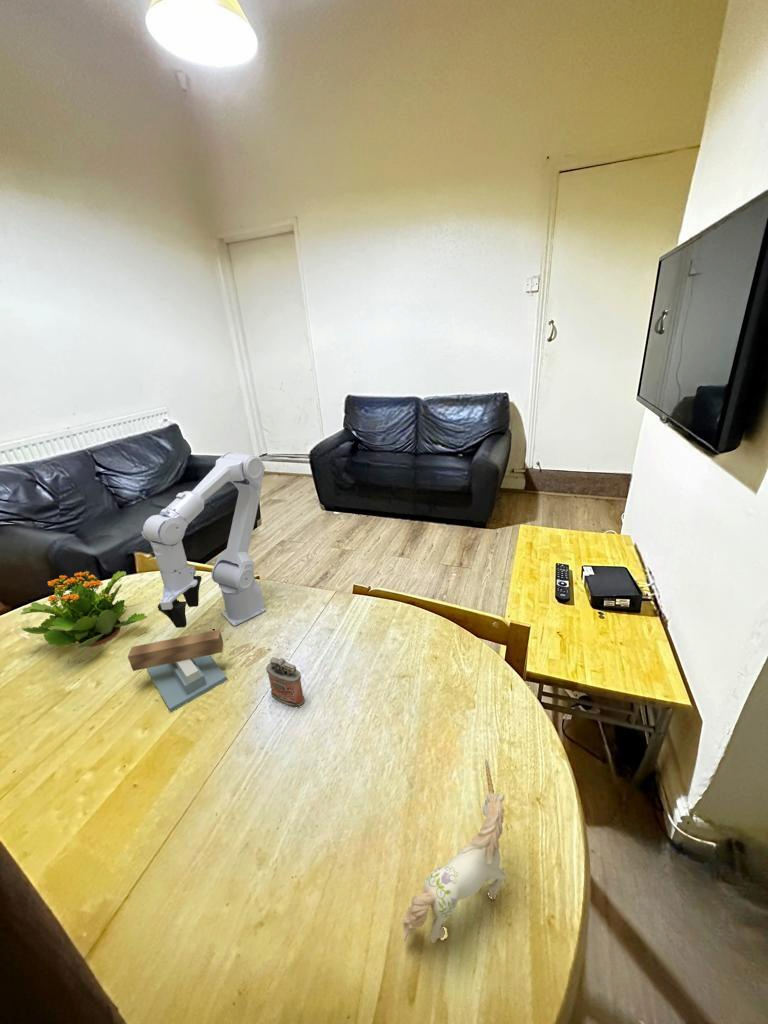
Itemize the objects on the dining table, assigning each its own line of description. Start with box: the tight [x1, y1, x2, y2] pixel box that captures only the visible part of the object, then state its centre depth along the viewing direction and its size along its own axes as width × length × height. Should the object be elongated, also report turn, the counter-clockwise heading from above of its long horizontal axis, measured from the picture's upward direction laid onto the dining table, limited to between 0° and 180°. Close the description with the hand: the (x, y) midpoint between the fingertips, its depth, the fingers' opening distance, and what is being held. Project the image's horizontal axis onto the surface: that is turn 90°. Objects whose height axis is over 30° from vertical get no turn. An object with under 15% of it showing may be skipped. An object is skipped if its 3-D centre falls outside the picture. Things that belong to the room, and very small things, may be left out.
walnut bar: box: [127, 629, 224, 672], centre depth 90 cm, size 18×3×4 cm, turn 106°
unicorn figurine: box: [401, 758, 506, 944], centre depth 53 cm, size 7×20×13 cm, turn 137°
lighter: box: [265, 656, 306, 708], centre depth 84 cm, size 8×3×10 cm, turn 62°
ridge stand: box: [146, 655, 228, 713], centre depth 92 cm, size 16×12×6 cm
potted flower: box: [20, 570, 148, 649], centre depth 103 cm, size 25×24×18 cm
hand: (187, 615), depth 97 cm, fingers open, 7 cm apart
